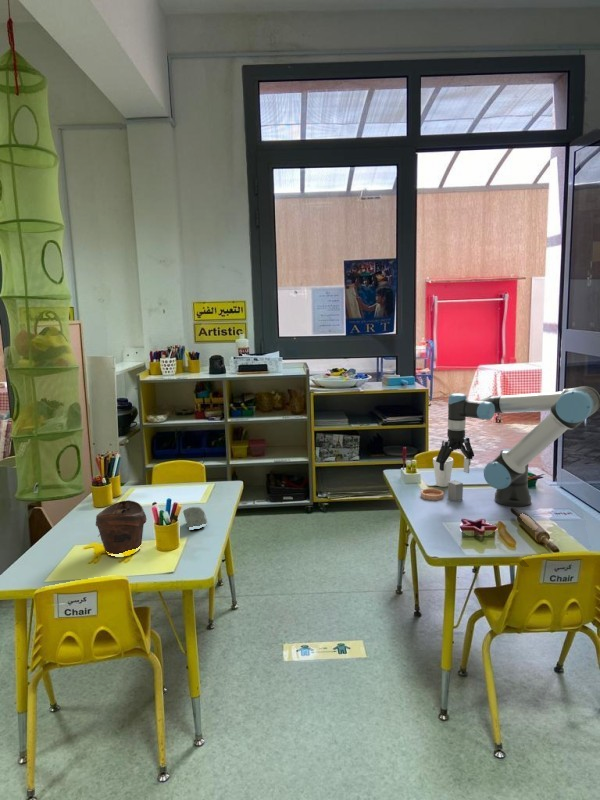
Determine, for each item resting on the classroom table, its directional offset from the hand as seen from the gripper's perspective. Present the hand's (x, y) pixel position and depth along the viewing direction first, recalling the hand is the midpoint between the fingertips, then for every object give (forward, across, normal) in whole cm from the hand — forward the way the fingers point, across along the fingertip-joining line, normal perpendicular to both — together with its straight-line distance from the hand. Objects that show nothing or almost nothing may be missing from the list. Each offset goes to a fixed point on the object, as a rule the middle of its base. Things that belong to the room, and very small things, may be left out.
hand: (454, 474), depth 249 cm
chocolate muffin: (+13, +141, -23) cm, 143 cm away
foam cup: (+12, -9, -18) cm, 23 cm away
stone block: (+11, 0, 0) cm, 11 cm away
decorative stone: (+13, +110, -31) cm, 115 cm away
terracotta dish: (+12, +6, -8) cm, 15 cm away
